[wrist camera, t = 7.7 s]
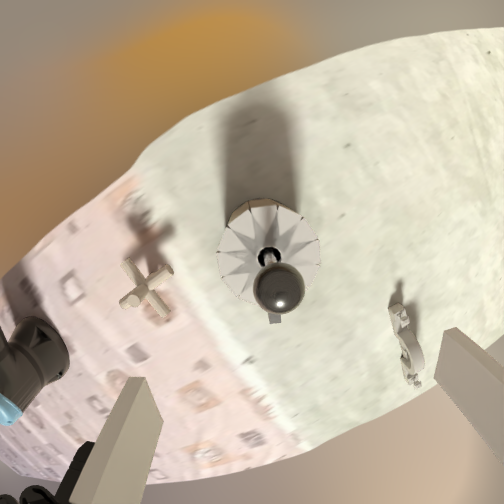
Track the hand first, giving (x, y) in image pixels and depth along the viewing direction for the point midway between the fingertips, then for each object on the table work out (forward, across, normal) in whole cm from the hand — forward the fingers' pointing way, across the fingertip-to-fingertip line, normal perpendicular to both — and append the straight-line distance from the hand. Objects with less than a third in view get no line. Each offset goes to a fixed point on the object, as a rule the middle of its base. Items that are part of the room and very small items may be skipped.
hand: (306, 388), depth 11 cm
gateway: (+36, +25, -25) cm, 50 cm away
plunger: (+32, 0, 0) cm, 32 cm away
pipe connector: (+35, -18, -5) cm, 39 cm away
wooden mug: (+35, 0, -2) cm, 35 cm away
